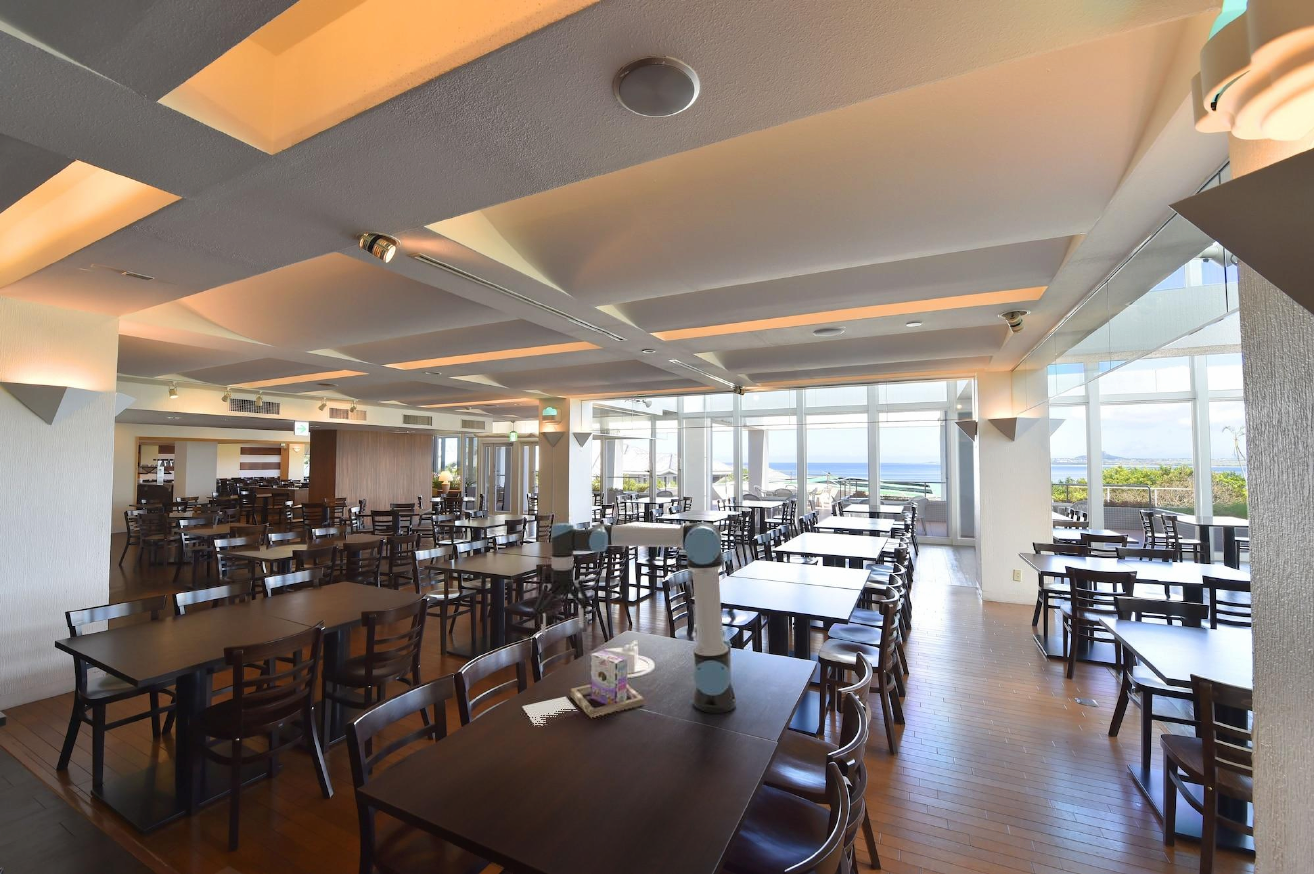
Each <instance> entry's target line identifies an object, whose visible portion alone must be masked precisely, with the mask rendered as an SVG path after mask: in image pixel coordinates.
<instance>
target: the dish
mask: <svg viewBox="0 0 1314 874" xmlns="http://www.w3.org/2000/svg"><path fill="white" fill-rule="evenodd" d="M638 644H639V643H638V640H633V641H632V642H631V643H629V644H626V645H625V644H624V646H623V647H613V648H604V649H603V651H605V652H608V653H610V654H613V655H616V656H619V657H622V658H625V659H627V679H633V678H638V677H639V678H640V677H643V676H646V675H647V674H650V673H651V672H653V671H654V670H655V666H656V664H655V661H653V660H652V659H650V658H649V657H647V656H643V655H639V645H638Z"/></svg>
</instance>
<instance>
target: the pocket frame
mask: <svg viewBox="0 0 1314 874" xmlns="http://www.w3.org/2000/svg"><path fill="white" fill-rule="evenodd" d="M588 695H591V684H587V685H582V686H577V687H574V688H573V687H572V688H570V698H572V699H573V700H574V701H575V702H576V704H577V705H578V706H579V707H580V708H581V709H582V710H583V712H585V713H586V714H587V716H588V717H589V718H590V717H591V718H590V719H593V718H592V717H594V718H597V717H596V716H598V717H600V716H599V715H602V716H605V715H604V714H606V713H610V714H613V713H612V712H614V713H616V712H615V711H618V712H621V710H622V711H625V710H624V709H626V710H629V708H630V709H633V708H632V707H634V708H637V707H641V705H642V706H644V705H645V699H644V697H643V696H642V695H640V694H639V693H638V692H637V691H636V690H635V689H633V688H632V687H631V686H630V685H629V684H627V697H629V698H630V699H627V701H623V702H618V703H614V704H610V705H606V704H605V705H602V706H599V707H593V706H592V705H591V704H590V703H589V702H588V701H587V700H586V698H585V697H584V696H588ZM606 715H607V714H606Z"/></svg>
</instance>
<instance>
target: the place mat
mask: <svg viewBox="0 0 1314 874" xmlns="http://www.w3.org/2000/svg"><path fill="white" fill-rule="evenodd" d="M521 707H522V709H523V710H524V712H525V713H527V714H526V715H527V716H529V717H530V718H529V717H528V718H529V719H530V721H531V722H532V724H533V723H534V724H533V726H535V725H541V726H544V725H543V724H538V723H546V722H543V721H546V720H541V719H546V718H540V717H549V716H546V715H558V714H554V713H562V712H558V711H571V710H563V709H577V708H576V707H575V706H574V704H573V703H572V702H571V701H570V700H569V699H568V698H567V696H562V697H559V698H553V699H548V700H544V701H539V702H535V703H531V704H527V705H523V706H521ZM561 709H562V710H561ZM556 711H557V712H556ZM573 711H578V709H577V710H573ZM548 713H549V714H548ZM563 713H564V712H563ZM541 715H542V716H541ZM543 715H545V716H543ZM532 717H533V718H532ZM535 717H536V718H535ZM550 717H552V716H550ZM553 717H554V716H553ZM555 717H556V716H555ZM535 719H536V720H535ZM537 721H538V722H537ZM539 721H540V722H539ZM535 723H537V724H535Z"/></svg>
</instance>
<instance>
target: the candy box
mask: <svg viewBox="0 0 1314 874" xmlns="http://www.w3.org/2000/svg"><path fill="white" fill-rule="evenodd" d="M590 685H591V694H590V699H593V700H594V701H597V702H599V703H600V704H604V705H605V706H606V705H610V704H614V703H618V702H623V701H627V700H628V699H627V698H628V696H627V685H628V678H627V659H625V658H622V657H619V656H616V655H613V654H610V653H608V652H605V651H604V650H599V651H597V652H593V653H591V654H590Z"/></svg>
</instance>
